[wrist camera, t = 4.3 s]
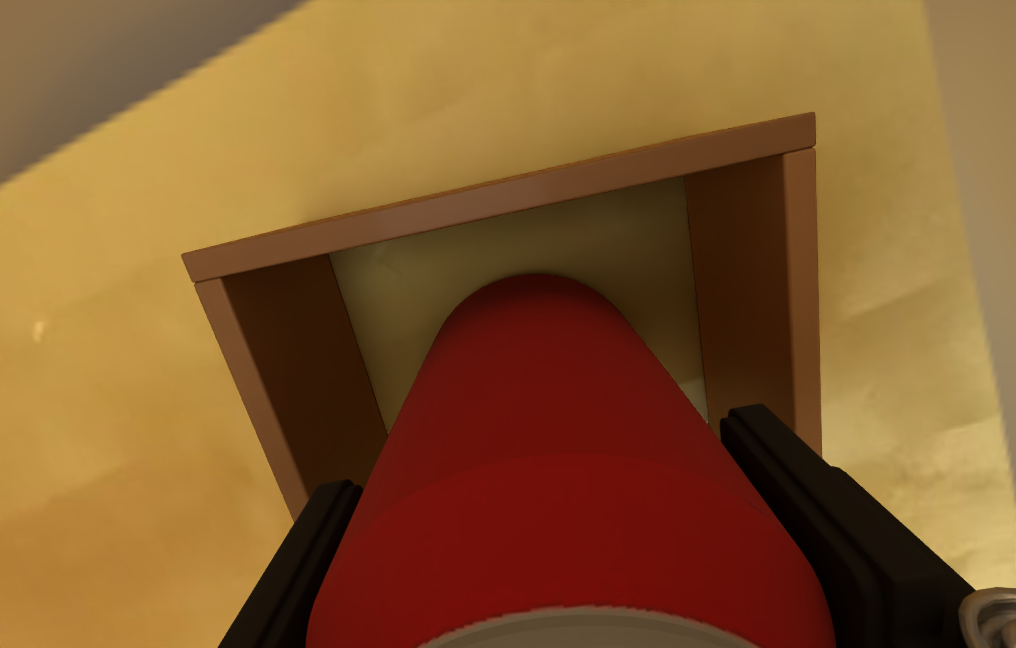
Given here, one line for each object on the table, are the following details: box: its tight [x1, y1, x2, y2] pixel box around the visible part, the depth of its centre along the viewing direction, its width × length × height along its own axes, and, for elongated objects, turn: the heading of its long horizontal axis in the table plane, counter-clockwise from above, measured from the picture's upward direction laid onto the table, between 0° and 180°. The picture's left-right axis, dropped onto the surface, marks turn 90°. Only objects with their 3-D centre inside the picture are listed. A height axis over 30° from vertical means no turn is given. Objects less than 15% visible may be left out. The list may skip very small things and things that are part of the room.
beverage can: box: [306, 274, 836, 648], centre depth 10 cm, size 7×7×12 cm
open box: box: [181, 112, 822, 523], centre depth 13 cm, size 12×12×6 cm
